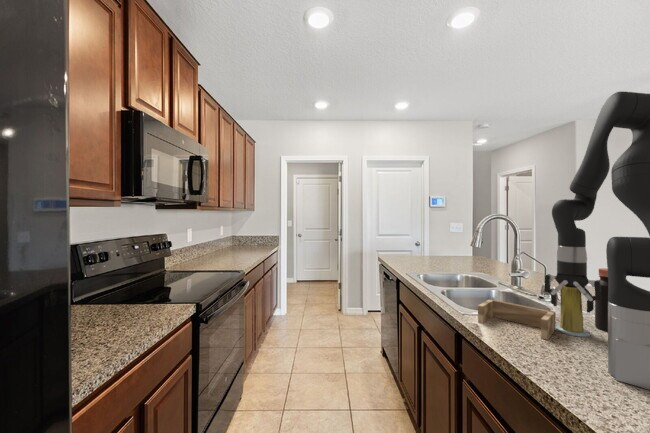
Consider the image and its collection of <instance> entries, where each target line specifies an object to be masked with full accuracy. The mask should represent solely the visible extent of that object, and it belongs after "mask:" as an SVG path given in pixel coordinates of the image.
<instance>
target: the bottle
mask: <svg viewBox="0 0 650 433" xmlns="http://www.w3.org/2000/svg"><path fill="white" fill-rule="evenodd" d="M598 277H599V279H598V280H599V281H600V284H601V296H602V298H601V300H595V301H594V326H595V328H597V329H598V330H600V331H603V332H607V333H608V268H602V267H601V268H598Z"/></svg>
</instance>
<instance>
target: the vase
mask: <svg viewBox="0 0 650 433" xmlns="http://www.w3.org/2000/svg"><path fill="white" fill-rule="evenodd" d="M561 286H562V285H561ZM559 324H560V328H562V329H564V330H567V331H571V332H583V331H584V329H585V328H584V314H583V302H582V293H581V292H580V291H579V289H578V288H573V287H565V286H562V289H561V290H560V323H559Z"/></svg>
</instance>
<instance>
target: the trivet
mask: <svg viewBox="0 0 650 433" xmlns="http://www.w3.org/2000/svg"><path fill="white" fill-rule="evenodd" d="M560 324H561V323H559V324H555V331H557V332H559V333H562V334H564V335H569V336H573V337H579V338H581V337H582V338H583V337H584V338H587V337H590V336H591V332H590V331H589V330H588V329H586V328H584V331H583V332H571V331H567V330H564V329H562V328H560Z"/></svg>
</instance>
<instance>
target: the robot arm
mask: <svg viewBox="0 0 650 433" xmlns="http://www.w3.org/2000/svg"><path fill="white" fill-rule="evenodd" d="M614 128H617V129H618V128H619V129H625V130H627V129H628V130H630V131H631V134H632V140H631V144H630V146H628V148H627V149H626V150H625V151H624V152H623V153H621V155H620V156H619V157H618V158H617V159H616V161H615V162H614V163H613V164H612V167H611V190H612V193H613V195H614V196H615V197H616V198H617V199H618V201H619V202H621V203H622V205H624V206H625V207H627V210H630V212H632V213H633V214H634V215H635V216H636V217H637V218H638V219H639V220H640V221H641V223H642V225H644V227H645V230H646V231H647V233H648V235H649V237H645V236H643V237H640V236H639V237H638V236H613V237H610V238H609V239H608V241H607V243H606V250H605V251H606V253H605V254H606V266H607V268H606V269H608V332H607V359H608V360H607V368H608V369H607V371H608V373H609V374H610V375H611V376H612V377H613V378H615V380H616V381H619V382H622V383H625V384H629V385H632V386H636V387H639V388H642V389H645V390H649V391H650V290H647V289H645V288H641V287H640V286H637V285H635V284H633V283H631V282H630V281H629V280H628V279H627V277H635V278H646V279H647V278H649V279H650V93H643V92H634V91H616V92H615V93H613V94H611V95H610V96H609V97H608V98H607V99H606V100H605V102H604V104H603V105H602V106H601V108H600V111H599V113H598V115H597V119H596V121H595V123H594V126H593V129H592V132H591V135H590V138H589V142H588V145H587V148H586V151H585V154H584V157H583V159H582V161H581V163H580V165H579V168H578V169H577V171H576V173H575V175H574V177H573V178H572V180H571V182H570V186H569V191H570V192H571V193H573V194H574V198H573V199H559V200H557V201H556V202H555V203H554V204H553V205H552V209H551V217H552V220H553V224H554V226H555V229H556V232H557V249H556V250H557V251H556V275H552V274H550V273H547V274H545V276H544V293H548V294H550V303H551V304H552V305H553V307H557V306H558V294H557V293H558V292H559V291H561V289H562V286H565V287H573V288H578V289H579V291H580V292H581V295H583V296H584V297H585V298H586V299H587V300H586V313H589V314H590V313H591V312H593V310H595V300H601V298H602V296H601V284H600V281H599V280H600V279H595V280H593V279H592V280H591V279H588V273H587V272H588V271H587V270H588V263H587V262H588V255H587V248H586V246H587V244H586V243H587V242H586V240H587V239H586V231H585V230H584V229H582V228H579V227H577V225H576V223H575V222H577V221H584V220H586V219H587V218H589V216H591V215H592V213H593V211H594V210H595V206H596V201H597V196H598V192H599V190H600V188H601V187H602V185H603V184H604V182H605V180H606V179H607V177H608V174H609V172H610V157H609V151H608V142H609V138H610V135H611V132H612V130H613V129H614ZM554 280H555V281H556V282H557V284H558V285H557V286H556V287H555V288H554V289H552V288H551V286H552V285H551V284H552V282H553V281H554ZM588 284H590V286H591V287H592V288H594V295H592V293H590V291H589V290H588V289H587V287H586V286H588ZM561 285H562V286H561Z"/></svg>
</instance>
